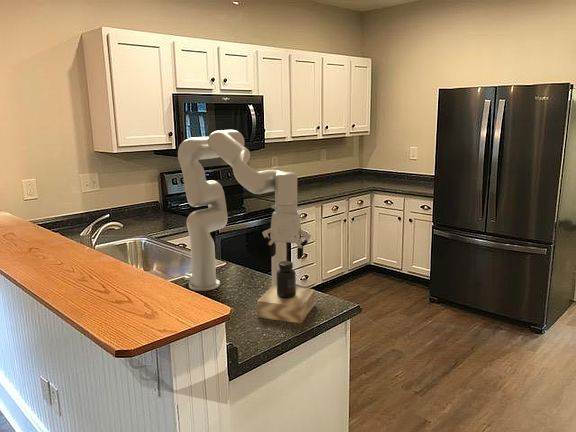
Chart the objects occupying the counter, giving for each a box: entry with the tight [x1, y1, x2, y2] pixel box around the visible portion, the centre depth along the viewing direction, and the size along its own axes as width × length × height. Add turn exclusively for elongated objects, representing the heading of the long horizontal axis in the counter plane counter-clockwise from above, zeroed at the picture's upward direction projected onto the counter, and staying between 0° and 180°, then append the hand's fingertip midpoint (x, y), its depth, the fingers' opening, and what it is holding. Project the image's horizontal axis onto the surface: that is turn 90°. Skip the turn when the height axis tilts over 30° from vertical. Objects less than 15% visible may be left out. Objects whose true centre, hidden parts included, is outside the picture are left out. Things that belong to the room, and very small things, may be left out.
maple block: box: [256, 285, 315, 324], centre depth 165 cm, size 16×16×6 cm
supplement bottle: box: [276, 260, 297, 298], centre depth 163 cm, size 7×7×12 cm
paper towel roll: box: [271, 242, 287, 287], centre depth 186 cm, size 7×6×21 cm
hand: (286, 256), depth 161 cm, fingers open, 9 cm apart
